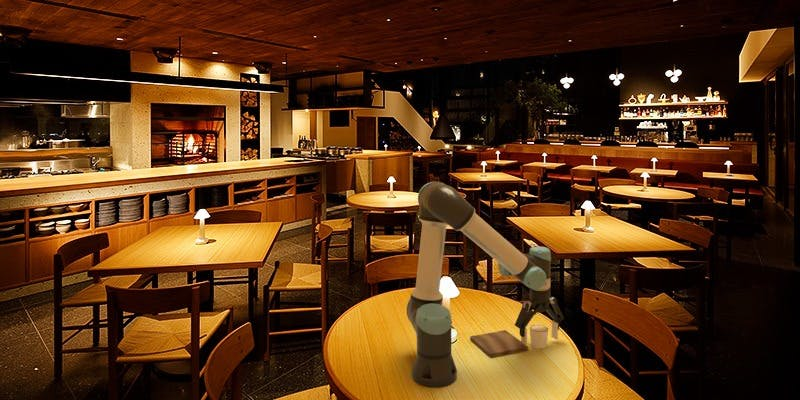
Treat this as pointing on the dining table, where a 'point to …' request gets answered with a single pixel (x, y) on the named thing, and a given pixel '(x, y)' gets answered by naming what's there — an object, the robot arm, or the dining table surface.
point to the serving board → (498, 343)
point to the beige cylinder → (538, 336)
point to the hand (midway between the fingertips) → (539, 341)
